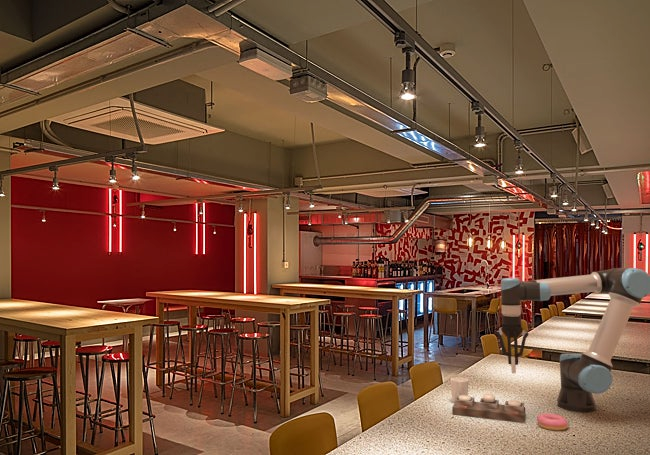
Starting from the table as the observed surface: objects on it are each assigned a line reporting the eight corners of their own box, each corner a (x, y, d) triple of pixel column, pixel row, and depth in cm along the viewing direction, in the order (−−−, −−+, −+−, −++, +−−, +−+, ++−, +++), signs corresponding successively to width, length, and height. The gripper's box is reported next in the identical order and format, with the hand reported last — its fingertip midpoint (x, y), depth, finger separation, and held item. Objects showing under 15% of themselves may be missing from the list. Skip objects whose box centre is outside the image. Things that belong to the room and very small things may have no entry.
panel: (525, 414, 202) (525, 402, 203) (524, 423, 192) (524, 410, 192) (457, 406, 214) (456, 394, 214) (452, 414, 203) (452, 402, 203)
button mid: (495, 399, 206) (495, 394, 206) (494, 402, 201) (494, 397, 201) (483, 398, 208) (483, 393, 208) (482, 401, 203) (481, 396, 203)
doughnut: (566, 434, 180) (566, 422, 180) (534, 428, 186) (534, 417, 186) (569, 425, 189) (569, 414, 190) (539, 420, 195) (538, 410, 195)
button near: (521, 406, 202) (521, 401, 202) (520, 409, 197) (520, 404, 197) (508, 404, 204) (508, 399, 204) (507, 407, 199) (507, 402, 199)
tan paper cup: (469, 404, 217) (468, 381, 217) (451, 403, 218) (450, 381, 219) (468, 399, 224) (467, 377, 225) (450, 398, 226) (449, 377, 226)
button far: (471, 400, 210) (471, 395, 210) (469, 403, 205) (469, 398, 205) (459, 399, 212) (459, 394, 212) (457, 402, 207) (457, 397, 207)
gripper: (528, 314, 204) (530, 371, 202) (495, 313, 209) (497, 369, 207) (527, 316, 197) (530, 375, 195) (494, 315, 202) (496, 373, 200)
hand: (513, 372), depth 201 cm, fingers closed
